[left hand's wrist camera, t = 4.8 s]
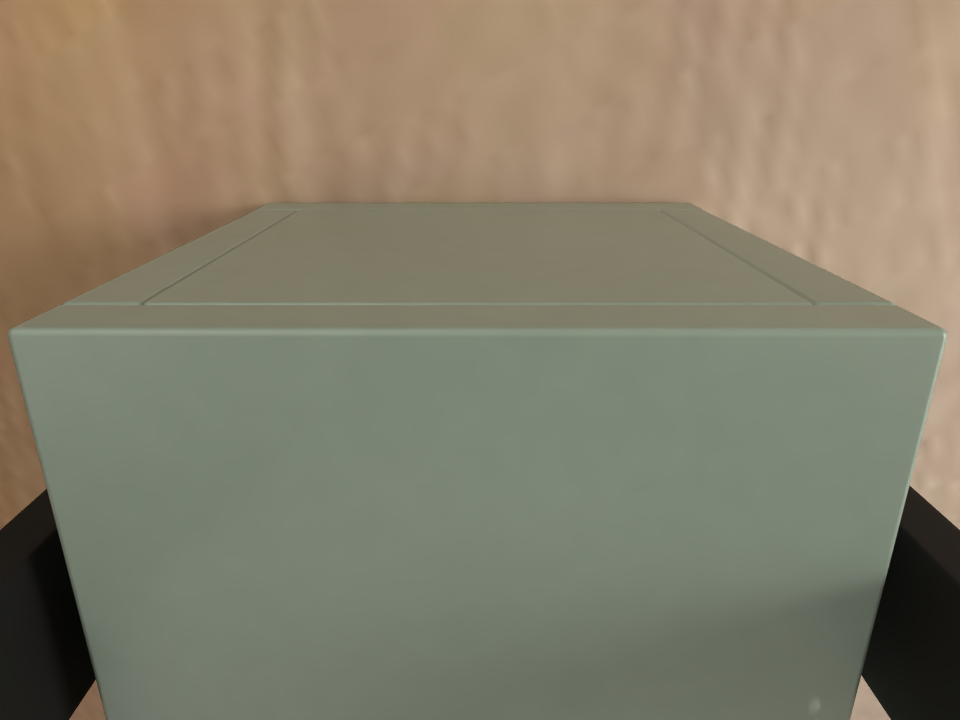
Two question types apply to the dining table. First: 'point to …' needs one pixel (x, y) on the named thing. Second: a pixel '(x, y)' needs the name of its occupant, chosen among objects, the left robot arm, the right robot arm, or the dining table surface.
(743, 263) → the cabinet
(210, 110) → the dining table surface
